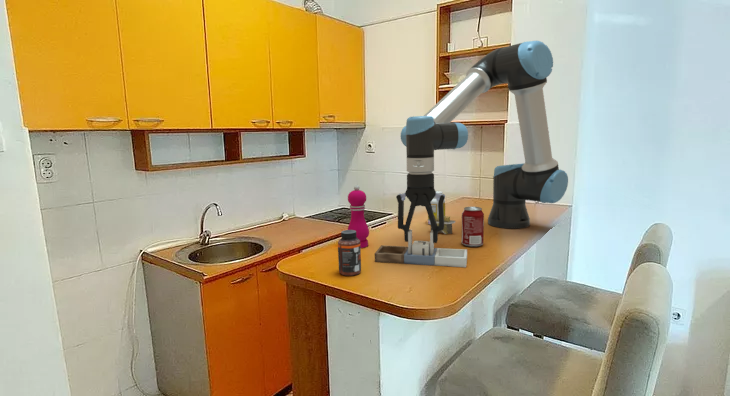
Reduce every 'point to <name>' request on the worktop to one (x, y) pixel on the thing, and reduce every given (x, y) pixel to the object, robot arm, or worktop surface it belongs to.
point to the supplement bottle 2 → (436, 206)
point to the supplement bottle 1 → (349, 253)
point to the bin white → (451, 257)
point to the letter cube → (421, 248)
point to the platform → (445, 225)
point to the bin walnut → (390, 254)
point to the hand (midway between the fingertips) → (421, 252)
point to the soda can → (472, 226)
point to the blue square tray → (420, 258)
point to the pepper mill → (358, 215)
